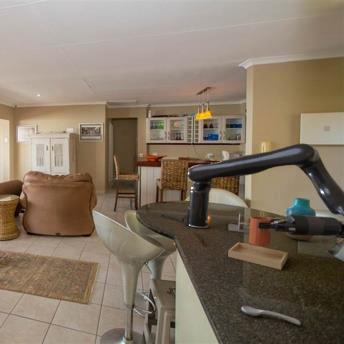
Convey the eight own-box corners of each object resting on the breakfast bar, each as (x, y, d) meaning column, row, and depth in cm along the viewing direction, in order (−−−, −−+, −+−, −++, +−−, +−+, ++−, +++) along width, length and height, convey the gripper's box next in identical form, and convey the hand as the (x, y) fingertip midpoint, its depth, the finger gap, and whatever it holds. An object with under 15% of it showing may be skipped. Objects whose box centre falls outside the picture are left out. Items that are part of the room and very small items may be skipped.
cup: (247, 243, 112) (248, 218, 111) (250, 239, 116) (252, 215, 115) (267, 247, 107) (269, 221, 106) (270, 243, 112) (272, 218, 111)
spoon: (239, 308, 77) (241, 301, 76) (296, 323, 72) (298, 316, 72) (242, 314, 74) (243, 307, 74) (301, 330, 69) (302, 322, 69)
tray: (228, 256, 113) (228, 250, 113) (237, 248, 123) (238, 242, 123) (281, 269, 102) (281, 262, 101) (287, 259, 111) (287, 252, 111)
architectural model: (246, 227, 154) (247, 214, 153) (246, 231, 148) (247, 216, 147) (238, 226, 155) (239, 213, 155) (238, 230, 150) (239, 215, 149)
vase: (306, 237, 138) (310, 197, 137) (319, 244, 129) (323, 201, 127) (279, 234, 142) (282, 196, 140) (289, 241, 132) (293, 200, 130)
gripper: (292, 211, 115) (245, 209, 118) (318, 220, 101) (264, 217, 104) (290, 229, 115) (244, 227, 119) (316, 241, 101) (262, 238, 105)
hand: (253, 222), depth 111 cm, fingers closed on cup, 6 cm apart
